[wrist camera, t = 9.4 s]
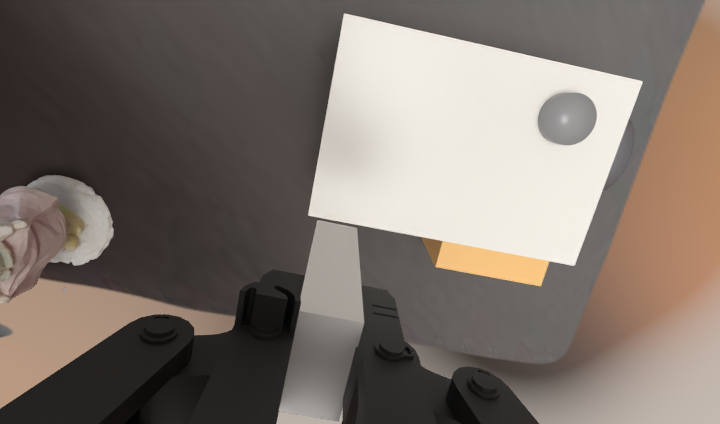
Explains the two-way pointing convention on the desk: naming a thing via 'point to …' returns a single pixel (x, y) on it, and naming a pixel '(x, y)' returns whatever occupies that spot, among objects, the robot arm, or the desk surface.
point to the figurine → (48, 230)
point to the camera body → (468, 141)
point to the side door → (486, 262)
